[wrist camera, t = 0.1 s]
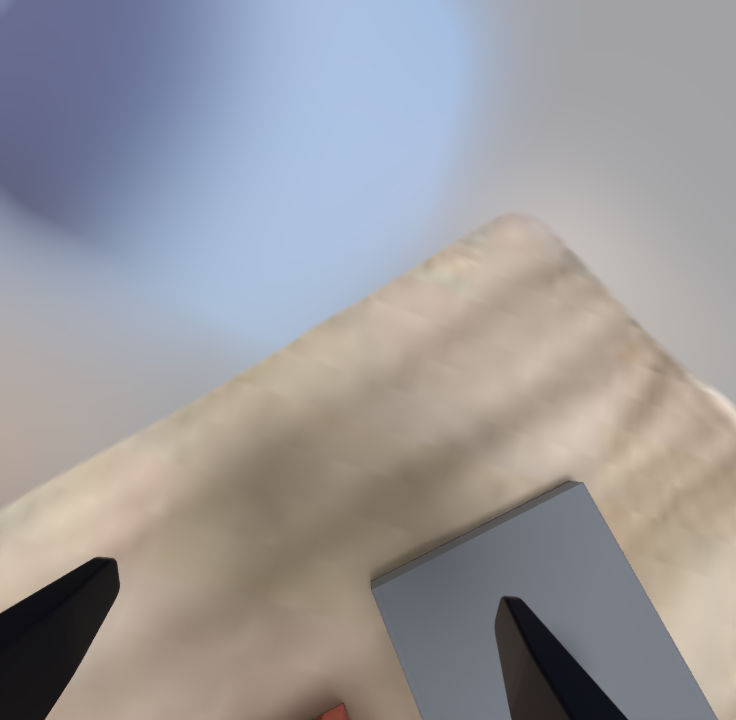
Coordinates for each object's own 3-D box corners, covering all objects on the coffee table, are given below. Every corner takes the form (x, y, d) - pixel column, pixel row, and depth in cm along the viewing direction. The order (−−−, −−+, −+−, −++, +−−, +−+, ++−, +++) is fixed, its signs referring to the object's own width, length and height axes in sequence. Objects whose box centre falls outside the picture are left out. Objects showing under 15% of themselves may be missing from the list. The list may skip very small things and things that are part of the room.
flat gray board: (729, 767, 20) (883, 893, 14) (503, 917, 18) (571, 1134, 12) (569, 481, 23) (637, 487, 18) (370, 581, 22) (374, 624, 16)
